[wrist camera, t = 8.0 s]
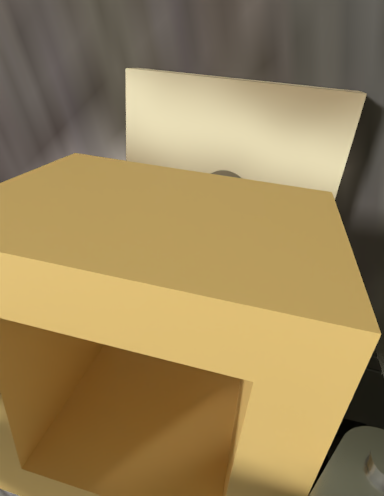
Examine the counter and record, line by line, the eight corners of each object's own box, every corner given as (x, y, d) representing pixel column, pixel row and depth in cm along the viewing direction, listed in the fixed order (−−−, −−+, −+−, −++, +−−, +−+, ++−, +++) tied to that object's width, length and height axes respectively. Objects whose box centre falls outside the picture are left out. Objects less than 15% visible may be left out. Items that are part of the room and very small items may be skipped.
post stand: (138, 68, 16) (30, 69, 10) (360, 91, 15) (422, 113, 8) (137, 251, 21) (64, 339, 14) (303, 284, 20) (311, 403, 13)
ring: (75, 153, 9) (-112, 228, 5) (331, 191, 8) (381, 334, 4) (89, 338, 12) (-16, 482, 8) (276, 385, 11) (267, 582, 7)
